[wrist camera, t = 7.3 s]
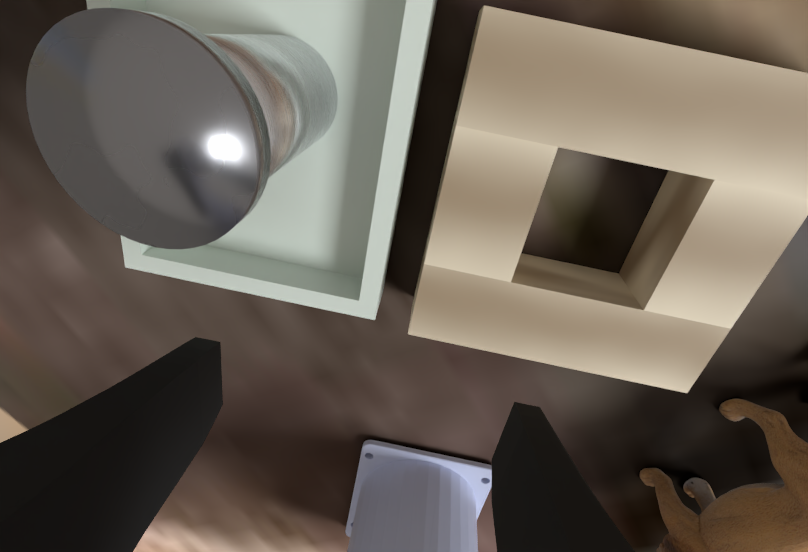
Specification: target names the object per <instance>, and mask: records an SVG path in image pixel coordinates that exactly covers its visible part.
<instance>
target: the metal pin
mask: <svg viewBox="0 0 808 552" xmlns="http://www.w3.org/2000/svg"><path fill="white" fill-rule="evenodd" d="M26 101H27V110H28V115H29V121H30V124H31V128H32V131H33V135H34V138H35V140H36V142H37V145H38V147H39V150H40V152H41V154H42V156H43V158H44V160H45V162H46V163H47V165H48V167H49V169H50V170H51V172H52V173H53V175H54V176H55V178H56V179H57V181H58V182H59V183H60V184H61V186H62V187H63V188H64V190H65V191H66V192H67V193H68V194H69V195H70V196H71V198H72V199H73V200H74V201H75V202H76V203H77V204H78V205H79V206H80V207H81V208H83V209H84V210H85V211H86V212H87V213H88V214H89V215H90V216H92V217H93V218H94V219H96V220H97V221H99V222H100V223H101V224H103V225H104V226H106V227H107V228H109V229H111V230H112V231H114V232H116V233H118V234H120V235H122V236H124V237H126V238H128V239H130V240H133V241H136V242H138V243H141V244H145V245H148V246H152V247H157V248H164V249H189V248H195V247H199V246H203V245H206V244H208V243H211V242H213V241H215V240H217V239H219V238H220V237H222V236H224V235H225V234H226V233H228V232H229V231H230V230H231V229H232V228H233V227H235V226H236V225H237V224H238V223H239V222H240V221H242V220H243V219H244V218H245V217H246V216H247V215H248V214H249V213H250V212H251V211H252V210H253V208H254V207H255V206H256V205H257V203H258V201H259V200H260V198H261V196H262V194H263V192H264V189H265V187H266V184H267V180H268V178H269V177H270V176H272V175H273V174H274V173H276V172H277V171H278V170H280V169H281V168H282V167H284V166H285V165H286V164H288V163H289V162H290V161H292V160H293V159H294V158H296V157H297V156H298V155H300V154H301V153H302V152H303V151H305V150H306V149H307V148H309V147H310V146H311V145H313V144H314V143H315V142H317V141H318V140H319V139H321V138H322V137H323V136H324V135H325V134H326V132H327V131H328V130H329V128H330V127H331V125H332V123H333V121H334V119H335V115H336V112H337V105H338V94H337V87H336V82H335V79H334V76H333V74H332V72H331V69H330V67H329V66H328V64H327V62H326V61H325V60H324V58H323V57H322V56H321V55H320V54H319V53H318V52H317V51H316V50H315V49H314V48H313V47H312V46H310V45H309V44H308V43H306V42H304V41H303V40H300V39H298V38H296V37H292V36H288V35H270V34H203V33H201V32H200V31H198V30H197V29H195V28H193V27H191V26H190V25H188V24H186V23H184V22H182V21H180V20H177V19H175V18H172V17H170V16H167V15H163V14H160V13H156V12H150V11H142V10H132V9H120V8H93V9H89V10H84V11H80V12H77V13H75V14H72V15H70V16H68V17H65V18H64V19H62V20H61V21H60V22H58V23H57V24H55V25H54V26H53V27H52V28H51V29H50V30H49V31H48V32H47V33H46V34H45V35H44V36H43V38H42V39H41V41H40V42H39V44H38V45H37V47H36V49H35V51H34V54H33V56H32V58H31V61H30V65H29V69H28V74H27V83H26Z"/></svg>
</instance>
